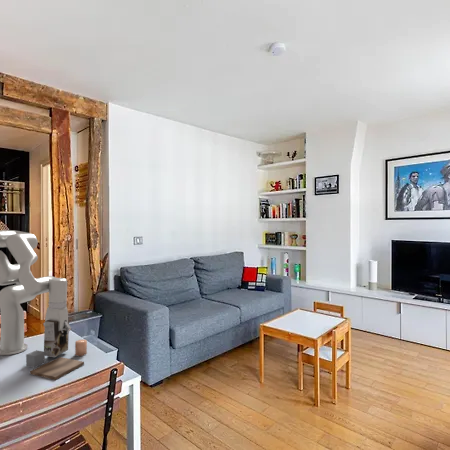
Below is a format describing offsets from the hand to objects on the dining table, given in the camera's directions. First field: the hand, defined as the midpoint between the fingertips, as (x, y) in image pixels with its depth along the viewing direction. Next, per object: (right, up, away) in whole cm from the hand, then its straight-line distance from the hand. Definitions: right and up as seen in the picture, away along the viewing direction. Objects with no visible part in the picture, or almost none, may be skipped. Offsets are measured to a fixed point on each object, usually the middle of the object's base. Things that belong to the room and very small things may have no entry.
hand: (56, 342), depth 150 cm
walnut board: (+8, -7, -13) cm, 17 cm away
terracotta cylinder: (+10, -7, +3) cm, 12 cm away
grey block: (-5, -7, -9) cm, 12 cm away
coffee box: (0, -5, 0) cm, 5 cm away
